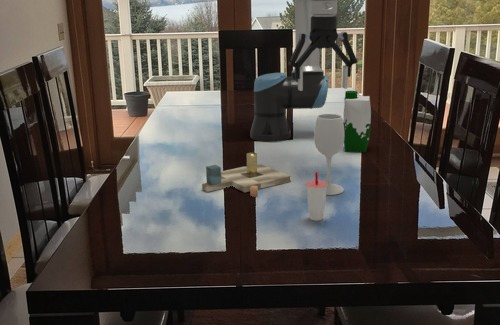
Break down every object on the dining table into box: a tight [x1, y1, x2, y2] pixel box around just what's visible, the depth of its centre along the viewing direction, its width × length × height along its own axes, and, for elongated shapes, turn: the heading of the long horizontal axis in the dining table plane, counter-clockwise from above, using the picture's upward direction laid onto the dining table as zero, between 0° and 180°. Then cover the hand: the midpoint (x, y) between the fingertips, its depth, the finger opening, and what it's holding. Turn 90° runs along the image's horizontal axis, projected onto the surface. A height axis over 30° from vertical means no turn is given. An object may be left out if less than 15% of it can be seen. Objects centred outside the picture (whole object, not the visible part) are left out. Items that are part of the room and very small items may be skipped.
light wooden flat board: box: [201, 162, 291, 193], centre depth 178 cm, size 16×24×6 cm, turn 124°
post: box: [246, 152, 258, 178], centre depth 180 cm, size 3×3×8 cm
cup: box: [305, 171, 328, 222], centre depth 150 cm, size 5×5×12 cm
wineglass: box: [313, 113, 345, 196], centre depth 168 cm, size 9×9×21 cm
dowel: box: [249, 186, 259, 198], centre depth 168 cm, size 2×2×3 cm
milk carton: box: [342, 90, 372, 154], centre depth 208 cm, size 9×9×20 cm
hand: (322, 89), depth 183 cm, fingers open, 13 cm apart
